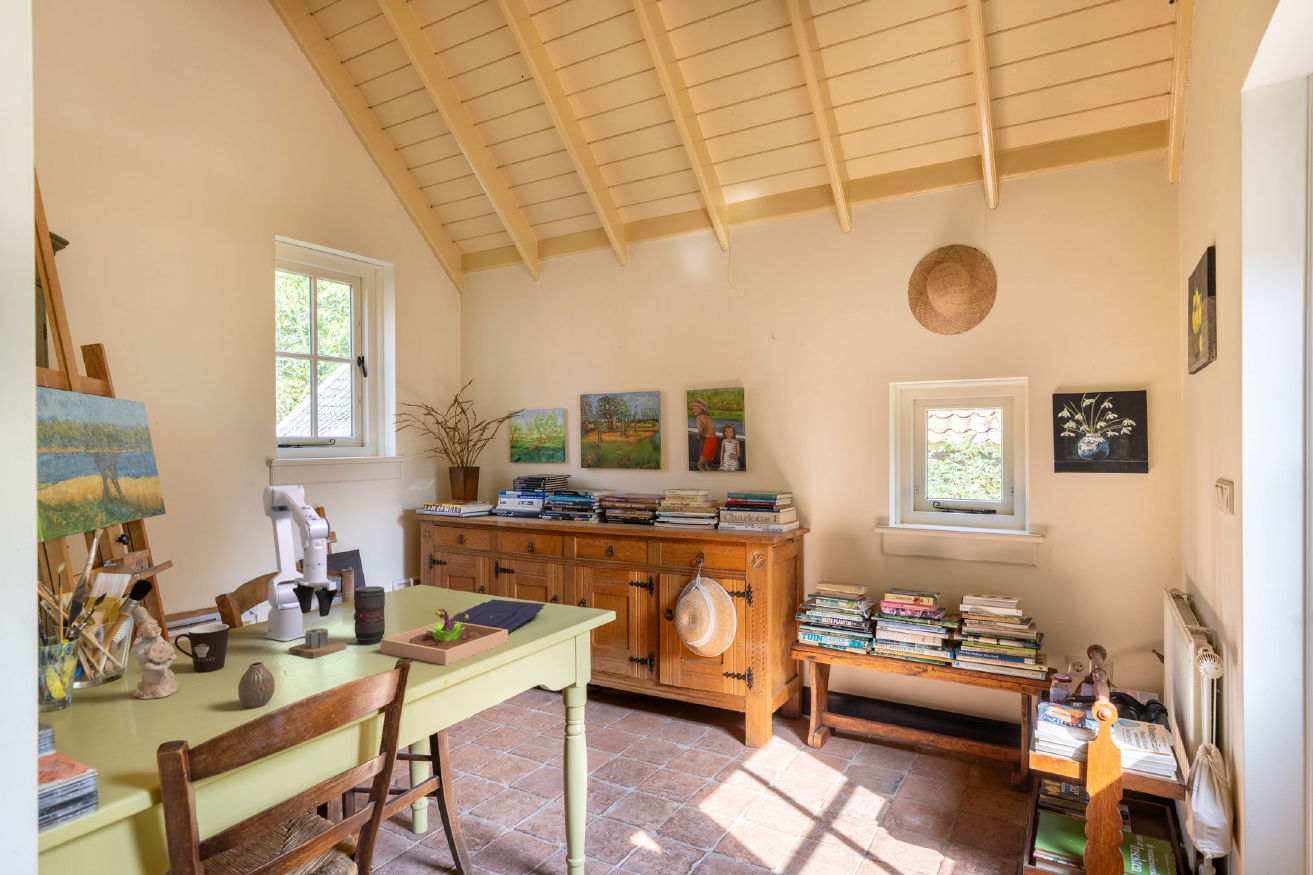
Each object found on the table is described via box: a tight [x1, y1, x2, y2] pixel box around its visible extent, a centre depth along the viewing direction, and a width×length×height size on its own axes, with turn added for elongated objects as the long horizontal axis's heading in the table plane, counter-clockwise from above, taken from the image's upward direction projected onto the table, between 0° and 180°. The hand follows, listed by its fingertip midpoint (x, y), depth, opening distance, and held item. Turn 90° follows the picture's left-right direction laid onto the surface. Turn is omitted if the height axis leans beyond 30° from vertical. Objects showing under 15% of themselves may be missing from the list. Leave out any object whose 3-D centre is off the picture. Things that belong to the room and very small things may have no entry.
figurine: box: [130, 606, 179, 700], centre depth 162 cm, size 9×8×20 cm
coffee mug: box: [174, 623, 230, 674], centre depth 181 cm, size 12×9×10 cm
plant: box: [409, 608, 484, 650], centre depth 198 cm, size 20×20×11 cm
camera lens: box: [353, 585, 386, 646], centre depth 204 cm, size 8×8×15 cm
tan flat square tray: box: [380, 620, 509, 666], centre depth 198 cm, size 24×24×4 cm
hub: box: [304, 627, 329, 649], centre depth 195 cm, size 5×5×4 cm
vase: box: [237, 661, 276, 709], centre depth 155 cm, size 7×7×9 cm
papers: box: [449, 598, 546, 634], centre depth 224 cm, size 24×30×4 cm
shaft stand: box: [288, 630, 347, 659], centre depth 195 cm, size 10×10×6 cm
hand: (315, 614), depth 195 cm, fingers open, 7 cm apart
